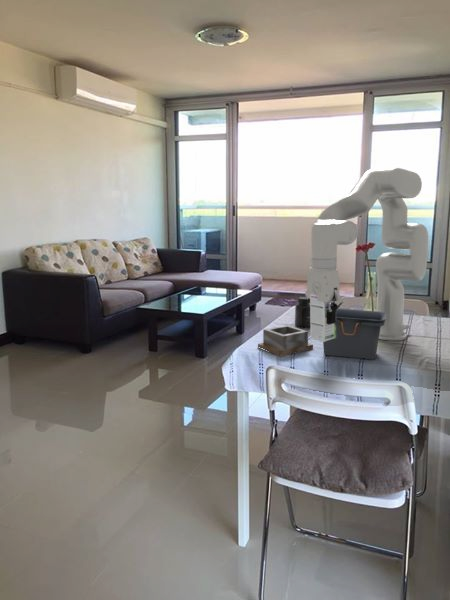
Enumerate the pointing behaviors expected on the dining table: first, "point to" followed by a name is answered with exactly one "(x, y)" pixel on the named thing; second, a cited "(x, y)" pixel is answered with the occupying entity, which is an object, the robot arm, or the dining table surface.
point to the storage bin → (355, 334)
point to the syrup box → (320, 321)
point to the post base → (285, 340)
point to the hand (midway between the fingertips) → (323, 320)
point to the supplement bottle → (302, 313)
